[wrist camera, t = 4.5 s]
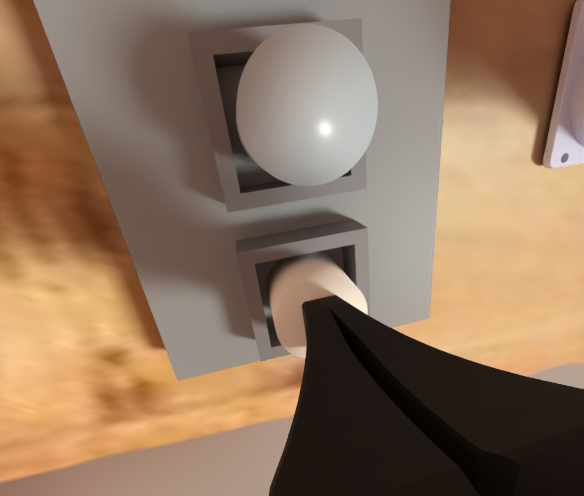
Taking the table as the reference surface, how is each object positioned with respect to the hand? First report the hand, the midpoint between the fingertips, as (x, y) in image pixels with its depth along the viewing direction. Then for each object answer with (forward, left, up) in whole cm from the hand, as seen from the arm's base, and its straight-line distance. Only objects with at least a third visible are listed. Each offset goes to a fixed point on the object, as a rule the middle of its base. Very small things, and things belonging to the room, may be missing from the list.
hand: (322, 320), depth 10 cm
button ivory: (0, 0, -3) cm, 3 cm away
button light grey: (0, -7, -2) cm, 7 cm away
